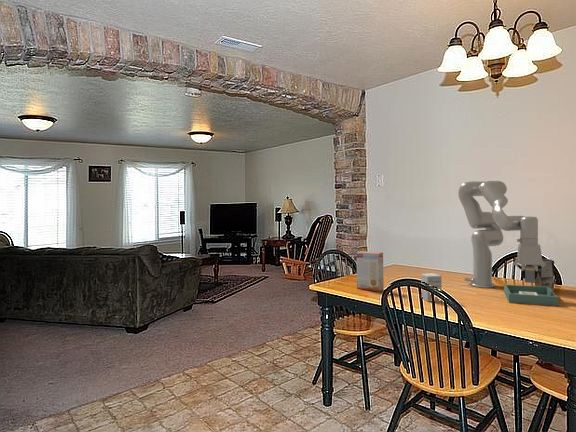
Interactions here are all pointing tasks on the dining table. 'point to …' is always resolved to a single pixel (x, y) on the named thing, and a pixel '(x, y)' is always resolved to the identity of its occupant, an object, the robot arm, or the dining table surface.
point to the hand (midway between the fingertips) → (529, 278)
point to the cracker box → (370, 271)
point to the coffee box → (546, 275)
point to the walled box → (530, 295)
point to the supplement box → (433, 281)
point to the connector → (529, 274)
